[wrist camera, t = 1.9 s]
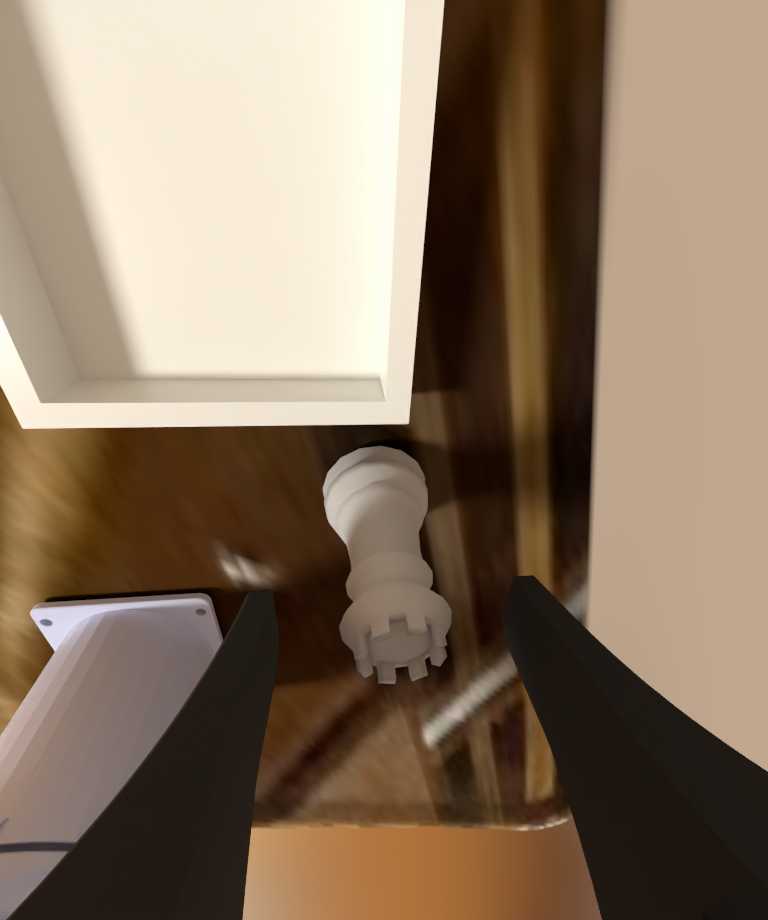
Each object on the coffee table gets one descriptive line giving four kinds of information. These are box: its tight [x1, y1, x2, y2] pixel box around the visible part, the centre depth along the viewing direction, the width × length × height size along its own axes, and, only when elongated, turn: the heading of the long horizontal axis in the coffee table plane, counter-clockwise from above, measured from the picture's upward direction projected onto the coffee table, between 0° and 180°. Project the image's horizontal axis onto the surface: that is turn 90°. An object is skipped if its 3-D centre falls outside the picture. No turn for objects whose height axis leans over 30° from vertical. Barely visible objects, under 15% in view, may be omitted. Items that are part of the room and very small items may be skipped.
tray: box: [0, 0, 444, 429], centre depth 10 cm, size 12×12×2 cm
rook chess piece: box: [323, 446, 452, 684], centre depth 14 cm, size 4×4×8 cm
